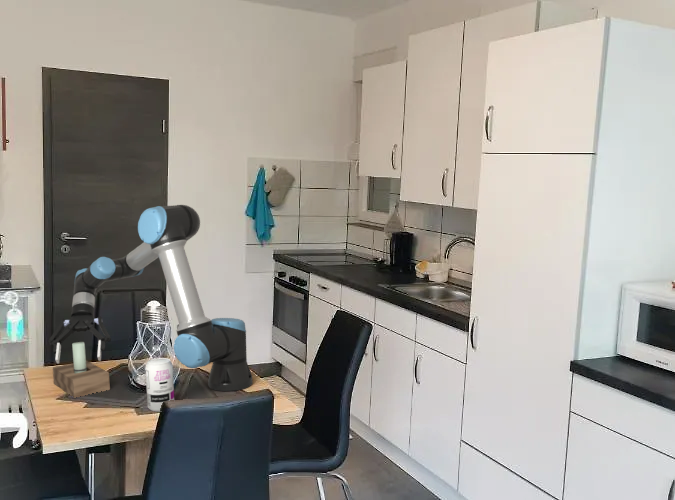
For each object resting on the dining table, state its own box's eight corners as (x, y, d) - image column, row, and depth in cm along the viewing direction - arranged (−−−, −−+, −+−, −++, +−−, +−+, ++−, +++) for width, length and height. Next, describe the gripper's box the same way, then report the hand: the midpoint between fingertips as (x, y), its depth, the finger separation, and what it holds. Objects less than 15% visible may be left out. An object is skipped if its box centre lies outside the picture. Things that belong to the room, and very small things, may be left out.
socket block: (109, 389, 231) (108, 372, 231) (74, 398, 224) (73, 380, 223) (87, 376, 246) (86, 360, 246) (53, 383, 239) (52, 367, 238)
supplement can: (161, 401, 219) (158, 356, 217) (180, 405, 215) (177, 359, 213) (142, 409, 212) (139, 362, 210) (161, 413, 208) (158, 366, 206)
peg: (90, 385, 235) (86, 343, 233) (77, 388, 232) (74, 345, 230) (85, 383, 238) (82, 341, 236) (73, 385, 235) (69, 343, 234)
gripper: (120, 311, 249) (117, 362, 237) (48, 315, 245) (41, 368, 232) (117, 300, 243) (114, 352, 231) (44, 304, 239) (37, 357, 226)
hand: (78, 360), depth 231 cm, fingers open, 13 cm apart
